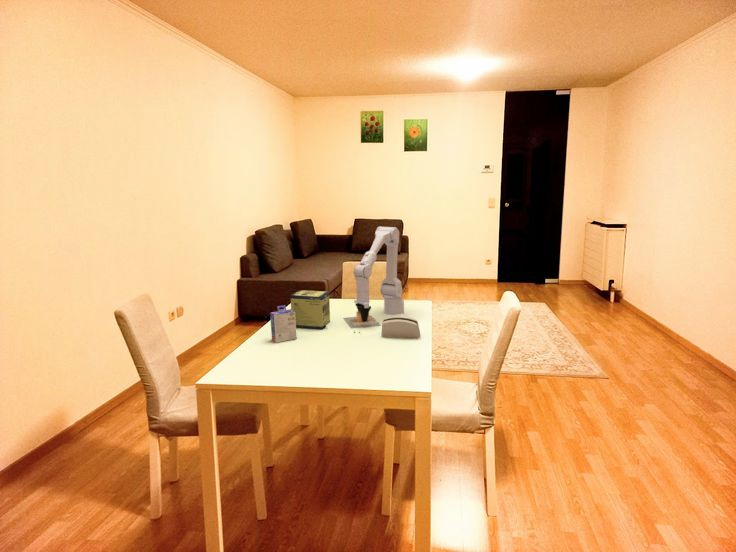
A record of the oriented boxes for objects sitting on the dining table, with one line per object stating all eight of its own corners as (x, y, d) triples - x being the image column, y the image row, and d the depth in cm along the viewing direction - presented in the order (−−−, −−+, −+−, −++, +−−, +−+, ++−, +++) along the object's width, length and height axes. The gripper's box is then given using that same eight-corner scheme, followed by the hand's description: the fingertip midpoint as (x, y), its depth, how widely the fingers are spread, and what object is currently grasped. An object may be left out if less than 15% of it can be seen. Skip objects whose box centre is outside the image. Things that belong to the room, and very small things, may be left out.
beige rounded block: (420, 334, 223) (420, 315, 218) (419, 340, 219) (419, 321, 214) (382, 332, 226) (381, 313, 221) (381, 339, 222) (379, 320, 217)
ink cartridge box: (292, 335, 224) (290, 303, 221) (297, 339, 219) (296, 306, 216) (270, 339, 219) (269, 306, 216) (275, 343, 214) (273, 309, 211)
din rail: (373, 321, 241) (373, 317, 240) (376, 325, 234) (376, 321, 234) (350, 322, 238) (350, 319, 238) (353, 327, 232) (353, 323, 231)
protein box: (323, 330, 231) (321, 296, 228) (291, 327, 236) (289, 294, 233) (330, 323, 241) (329, 291, 238) (300, 321, 246) (298, 289, 243)
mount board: (371, 317, 250) (371, 315, 250) (381, 327, 233) (380, 325, 233) (342, 319, 247) (342, 317, 247) (350, 330, 230) (350, 328, 230)
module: (367, 321, 239) (366, 309, 237) (369, 323, 235) (369, 312, 233) (356, 322, 237) (356, 310, 236) (358, 324, 233) (358, 313, 232)
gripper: (350, 288, 239) (351, 316, 242) (357, 294, 225) (358, 324, 228) (365, 287, 241) (365, 315, 243) (373, 293, 227) (373, 323, 230)
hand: (363, 319), depth 236 cm, fingers closed on module, 4 cm apart
